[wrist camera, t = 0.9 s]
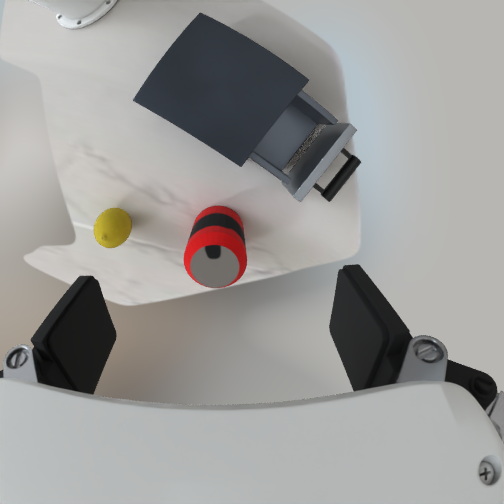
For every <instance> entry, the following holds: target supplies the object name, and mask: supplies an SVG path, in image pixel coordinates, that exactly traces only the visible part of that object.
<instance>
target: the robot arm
mask: <svg viewBox="0 0 504 504" xmlns="http://www.w3.org/2000/svg"><path fill="white" fill-rule="evenodd" d="M28 1H31V2H33V3H36V4H38V5H40V6H43V7H45V8H47V9H49V10H51V11H54V12H56V17H57V21H58V23H59V24H60V25H62V26H63V27H66V28H69V29H77V28H81V27H85V26H87V25H89V24H91V23H93V22H95V21H96V20H98V19H99V18H101V17H102V16H103V15H105V14H106V13H107V12H108V11H109V10H110V9H111V8H112V7H113V5H114V4H115V3H116V2H117V0H28ZM329 328H330V333H331V336H332V338H333V341H334V343H335V346H336V348H337V351H338V353H339V355H340V358H341V360H342V362H343V365H344V367H345V370H346V373H347V375H348V378H349V380H350V383H351V385H352V388H353V390H354V392H349V393H343V394H337V395H330V396H324V397H317V398H310V399H302V400H294V401H284V402H274V403H259V404H239V405H187V404H165V403H153V402H142V401H133V400H125V399H117V398H110V397H104V396H98V395H93V394H94V391H95V389H96V386H97V384H98V381H99V379H100V376H101V373H102V371H103V368H104V366H105V364H106V361H107V359H108V357H109V354H110V352H111V350H112V347H113V345H114V343H115V341H116V330H115V328H114V325H113V323H112V320H111V317H110V314H109V312H108V309H107V306H106V303H105V300H104V297H103V294H102V291H101V288H100V285H99V282H98V280H96V279H95V278H94V277H93V276H79V277H78V278H77V280H76V281H75V282H74V283H73V284H72V286H71V287H70V288H69V289H68V290H67V292H66V293H65V294H64V295H63V297H62V298H61V299H60V300H59V302H58V303H57V304H56V306H55V307H54V308H53V309H52V311H51V312H50V313H49V315H48V316H47V317H46V319H45V320H44V321H43V323H42V324H41V326H40V327H39V328H38V330H37V331H36V333H35V334H34V335H33V337H32V338H31V342H32V343H33V345H34V348H33V349H31V347H29V346H28V345H25V344H21V345H17V346H15V347H13V348H12V349H11V350H10V351H8V353H7V354H6V356H5V358H4V360H3V370H2V371H0V504H504V392H503V391H501V392H500V393H497V386H496V383H495V381H494V380H493V379H492V377H490V376H489V375H488V374H486V373H484V372H481V371H478V370H476V369H473V368H470V367H467V366H464V365H462V364H459V363H456V362H453V361H451V360H448V359H447V358H448V354H447V353H448V352H447V349H446V347H445V346H444V345H443V343H442V342H440V341H439V340H438V339H436V338H434V337H431V336H426V335H421V336H417V337H414V338H413V337H412V336H411V334H410V333H409V329H408V328H407V327H406V325H405V324H404V322H403V321H402V320H401V318H400V317H399V316H398V314H397V313H396V311H395V310H394V309H393V308H392V306H391V305H390V303H389V302H388V301H387V299H386V298H385V297H384V296H383V294H382V293H381V292H380V290H379V289H378V288H377V286H376V285H375V284H374V283H373V282H372V280H371V279H370V278H369V276H368V275H367V274H366V273H365V271H364V270H363V269H362V268H361V266H360V265H358V264H357V265H345V266H344V267H343V269H340V270H339V272H338V278H337V284H336V290H335V297H334V303H333V309H332V314H331V320H330V325H329Z"/></svg>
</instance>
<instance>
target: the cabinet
mask: <svg viewBox="0 0 504 504" xmlns="http://www.w3.org/2000/svg"><path fill="white" fill-rule="evenodd" d="M308 81H309V79H307V78H306V77H305V76H304V75H302V74H301V73H300V72H298V71H297V70H295V69H294V68H293V67H291V66H290V65H289V64H287V63H286V62H284V61H283V60H281V59H280V58H279V57H277V56H276V55H274V54H273V53H271V52H270V51H268V50H267V49H265V48H263V47H262V46H260V45H259V44H257V43H255V42H254V41H252V40H251V39H249V38H247V37H246V36H244V35H242V34H240V33H239V32H237V31H235V30H233V29H231V28H230V27H228V26H226V25H224V24H222V23H220V22H218V21H216V20H214V19H212V18H210V17H208V16H206V15H204V14H202V13H199V14H198V15H197V16H196V18H195V19H194V20H193V21H192V22H191V23H190V24H189V25H188V26H187V28H186V29H185V30H184V31H183V32H182V33H181V35H180V36H179V37H178V38H177V39H176V41H175V42H174V43H173V44H172V46H171V47H170V48H169V49H168V51H167V52H166V53H165V55H164V56H163V57H162V58H161V60H160V61H159V63H158V64H157V65H156V67H155V68H154V69H153V71H152V72H151V74H150V75H149V77H148V78H147V79H146V81H145V82H144V84H143V85H142V87H141V88H140V90H139V91H138V93H137V95H136V96H135V98H134V99H133V101H134V102H136V103H138V104H140V105H142V106H143V107H145V108H147V109H149V110H150V111H152V112H154V113H156V114H157V115H159V116H161V117H162V118H164V119H166V120H167V121H169V122H171V123H173V124H174V125H176V126H178V127H179V128H181V129H182V130H184V131H186V132H187V133H189V134H191V135H192V136H194V137H195V138H197V139H199V140H200V141H202V142H203V143H205V144H206V145H208V146H210V147H211V148H213V149H214V150H216V151H217V152H219V153H220V154H222V155H224V156H225V157H227V158H228V159H230V160H231V161H233V162H234V163H236V164H237V165H239V166H240V167H242V166H243V164H244V163H245V161H246V160H247V159H248V157H249V156H250V155H251V153H252V152H253V151H254V149H255V148H256V147H257V145H258V144H259V143H260V141H261V140H262V139H263V137H264V136H265V135H266V134H267V132H268V131H269V130H270V128H271V127H272V126H273V124H274V123H275V122H276V121H277V119H278V118H279V117H280V116H281V114H282V113H283V112H284V111H285V109H286V108H287V107H288V106H289V104H290V103H291V102H292V101H293V99H294V98H295V97H296V96H297V94H298V93H299V92H300V91H301V90H302V88H303V87H304V86H305V85H306V84H307V82H308Z"/></svg>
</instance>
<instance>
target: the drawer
mask: <svg viewBox="0 0 504 504" xmlns="http://www.w3.org/2000/svg"><path fill="white" fill-rule="evenodd" d="M337 121H338V120H337V119H336V118H335V117H334V116H333V115H331V114H330V113H329V112H328V111H327V110H325V109H324V108H323V107H322V106H321V105H319V104H318V103H317V102H316V101H315V100H313V99H312V98H311V97H310V96H308V95H307V94H306V93H304V92H303V91H302V90H301V91H300V92H299V93H298V94H297V96H296V97H295V98H294V99H293V101H292V102H291V103H290V104H289V106H288V107H287V108H286V109H285V111H284V112H283V113H282V114H281V116H280V117H279V118H278V119H277V121H276V122H275V123H274V124H273V126H272V127H271V128H270V130H269V131H268V132H267V134H266V135H265V136H264V137H263V139H262V140H261V141H260V143H259V144H258V145H257V147H256V148H255V149H254V151H253V152H252V153H251V155H250V156H249V158H250V159H252V160H253V161H255V162H256V163H258V164H259V165H260V166H262V167H263V168H265V169H266V170H267V171H269V172H270V173H272V174H273V175H274V176H276V177H277V178H279V179H280V180H281V181H282V184H283V185H284V186H285V187H286V189H287V190H288V191H289V192H290V194H291V195H292V196H293V197H294V198H296V199H297V200H298V201H300V202H301V201H302V200H303V198H304V197H305V196H306V194H307V193H308V192H309V191H310V189H311V188H312V187H314V188H315V189H317V190H318V191H319V192H320V193H321V195H322V196H323V197H324V198H325V199H327V200H328V201H329V202H330V201H331V200H332V199H333V198H334V196H335V195H336V194H337V193H338V191H339V190H340V189H341V187H342V186H343V185H344V184H345V182H346V181H347V180H348V179H349V177H350V176H351V175H352V174H353V172H354V171H355V170H356V168H357V167H358V166H359V165H360V163H361V161H360V160H359V159H358V158H357V157H356V156H354V155H351V154H350V153H349V152H348V151H346V150H345V149H344V148H343V147H344V146H345V145H346V144H347V142H348V141H349V140H350V138H351V137H352V136H353V135H354V133H355V132H356V131H357V130H356V129H355V128H354V127H353V126H352V125H351V124H348V123H337ZM318 124H321V125H326V126H325V128H324V129H323V130H322V131H321V133H320V134H319V135H318V136H317V138H316V139H315V140H314V142H313V143H312V144H311V145H310V147H309V148H308V149H307V150H306V152H305V153H304V154H303V156H302V157H301V158H300V159H299V161H298V162H297V163H296V165H295V166H294V167H293V168H292V170H291V171H290V172H289V174H288V175H286V174H285V173H284V172H283V171H282V170H283V168H284V167H285V166H286V164H287V163H288V162H289V161H290V159H291V158H292V157H293V155H294V154H295V153H296V151H297V150H298V149H299V148H300V146H301V145H302V144H303V143H304V141H305V140H306V139H307V137H308V136H309V135H310V134H311V132H312V131H313V130H314V129H315V127H316V126H317V125H318ZM340 152H341V153H342V154H344V155H345V156H346V157H347V158H348V160H347V161H346V163H345V164H344V165H343V167H342V168H341V169H340V170H339V172H338V173H337V174H336V175H335V177H334V178H333V179H332V181H331V182H330V183H329V184H328V186H327V187H326V188H325V189H323V188H321V187H320V186H319V185H318V184H316V182H317V181H318V179H319V178H320V177H321V175H322V174H323V173H324V172H325V170H326V169H327V168H328V167H329V165H330V164H331V163H332V161H333V160H334V159H335V158H336V156H337V155H338V154H339V153H340Z"/></svg>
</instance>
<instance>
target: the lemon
mask: <svg viewBox="0 0 504 504" xmlns="http://www.w3.org/2000/svg"><path fill="white" fill-rule="evenodd" d="M131 229H132V222H131V219H130V216H129V215H128V213H127V212H126V211H124V210H122V209H120V208H110V209H107V210H105V211H104V212H103V213H101V214H100V216H99V217H98V218H97V220H96V222H95V225H94V236H95V238H96V240H97V242H98V243H99V244H100V245H102V246H103V247H106V248H115V247H117V246H119V245H121V244H122V243H124V242H125V241H126V240H127V238H128V237H129V235H130V232H131Z"/></svg>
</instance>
